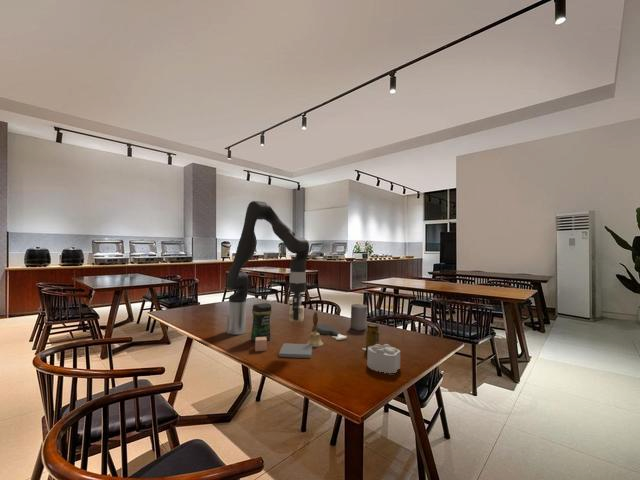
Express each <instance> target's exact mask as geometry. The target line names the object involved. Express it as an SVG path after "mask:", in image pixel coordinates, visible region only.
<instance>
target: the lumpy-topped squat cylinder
mask: <svg viewBox="0 0 640 480" xmlns="http://www.w3.org/2000/svg"><path fill="white" fill-rule="evenodd" d="M366 357H367V359H366V360H367V361H366V362H367V363H366V366H367V368H369V369H370V370H372V371H374V370H375V371H374V372H378V371H379V373H381V372H384V373H383V374H386V373H389V374H388V375H391V374H390V373H396V372H398V371H399V370H398V369H401V350H400V349H398V348H396V347H392V346H391V345H390V344H388V343H385V344H376V345H374V346H370V347H368V352H367V356H366ZM397 370H398V371H397ZM396 374H397V373H396Z"/></svg>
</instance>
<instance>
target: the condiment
mask: <svg viewBox="0 0 640 480" xmlns="http://www.w3.org/2000/svg"><path fill="white" fill-rule="evenodd" d="M366 329H367V330H365V331H366V333H365V334H366V335H365V337H366V338H365V347H362V348H361V349H362V350H363V351H365V352H367V353H368V347H370V346H374V345H376V344H379V343H380V330H379V325H378V324H376V323H368V324H367V325H366Z"/></svg>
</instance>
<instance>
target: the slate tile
mask: <svg viewBox="0 0 640 480" xmlns="http://www.w3.org/2000/svg"><path fill="white" fill-rule="evenodd" d="M312 345H313V344H307V343H285V342H283V344H282V346H281V348H280V350H279V351H278V352H279V353H278V358H295V359H297V358H300V359H301V358H303V359H311V358H312V353H313V347H312Z"/></svg>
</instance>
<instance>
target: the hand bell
mask: <svg viewBox="0 0 640 480" xmlns="http://www.w3.org/2000/svg"><path fill="white" fill-rule="evenodd" d="M312 316H313V317H312V323H313V326H314V330H312V331H313V332H311V333H310V337H309V339H308V341H307V342H306V344H313V345H312V348H318V347H319V348H320V347H322V346H323V345H324V342H322V340H321V336H320V335H321V334H319V333H318V332H317V325H318V322H319V316H318V312H317V311H314V312H313V315H312Z"/></svg>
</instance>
